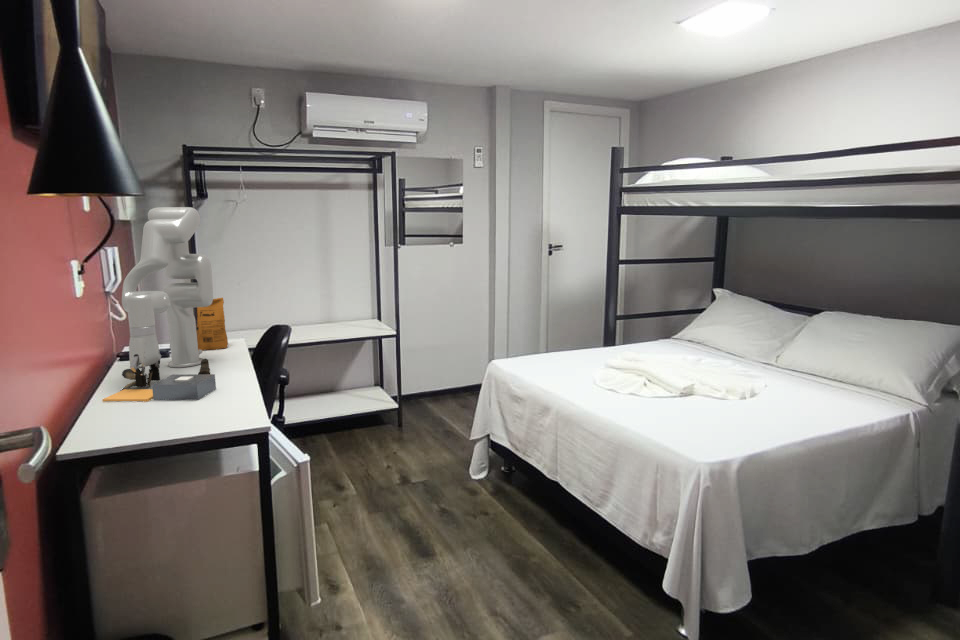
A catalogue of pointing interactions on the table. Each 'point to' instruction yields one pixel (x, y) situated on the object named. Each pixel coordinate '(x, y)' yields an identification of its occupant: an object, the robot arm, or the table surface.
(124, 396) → the pad
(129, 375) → the eagle figurine
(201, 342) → the coffee package
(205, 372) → the hand tool
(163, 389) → the breaker box
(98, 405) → the table surface
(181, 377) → the button
